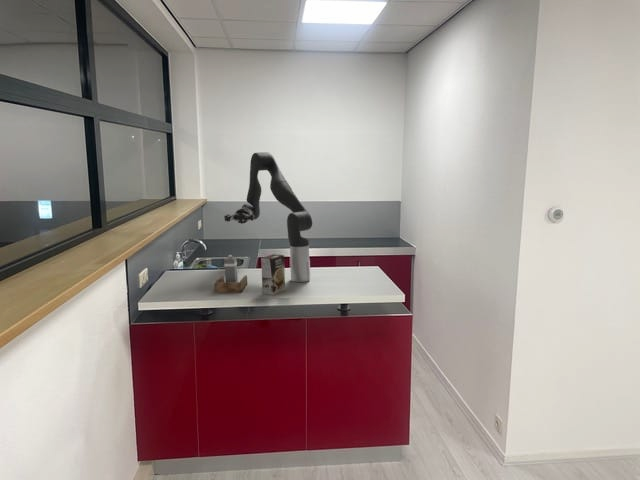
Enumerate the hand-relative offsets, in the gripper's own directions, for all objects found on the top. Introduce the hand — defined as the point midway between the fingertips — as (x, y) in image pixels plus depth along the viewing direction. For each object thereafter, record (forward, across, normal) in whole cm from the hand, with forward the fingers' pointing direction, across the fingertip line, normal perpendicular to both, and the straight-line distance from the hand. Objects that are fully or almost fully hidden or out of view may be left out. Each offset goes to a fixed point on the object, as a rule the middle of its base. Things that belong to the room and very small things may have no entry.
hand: (236, 219), depth 216 cm
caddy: (+16, 0, +30) cm, 34 cm away
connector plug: (+15, 0, +29) cm, 32 cm away
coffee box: (+21, +20, +30) cm, 42 cm away
